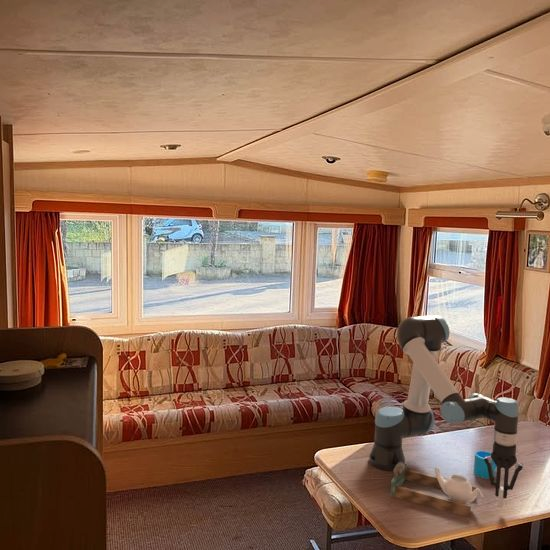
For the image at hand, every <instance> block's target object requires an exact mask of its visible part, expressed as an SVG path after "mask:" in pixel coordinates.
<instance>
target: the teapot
mask: <svg viewBox="0 0 550 550" xmlns="http://www.w3.org/2000/svg"><path fill="white" fill-rule="evenodd" d="M434 473H435V476H437V479H438V482H439V484H440V486H441V488H442V489H441V490H442V491H443V492H444V493H445V494H446V495H447V496H448V497H449V499H451V500H455V501H458V502H462V503H466V504H471V503H473V502H474V501H475V500H476V499H477V497H478V493H479V496H480V497H482V498H485V496H484V493H482V491H481V489H480V488H478V487H477V488H476V489H475V490H474V491H473V492H472V486H471V485H472V484H471V482H470V481H469V479H468V478H467V477H465V476H464V475H460V474H452V475H450V476H449V477H448V478H446V479H447V480H445V479H444V478H445V477H443V476H442V474H441V470H440V469H439V468H434Z"/></svg>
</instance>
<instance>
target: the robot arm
mask: <svg viewBox="0 0 550 550" xmlns="http://www.w3.org/2000/svg"><path fill="white" fill-rule="evenodd" d="M396 338H397V343H398V346H399V347H400V349H401V350H402V352H403V353H404V354H405V355H408V356H409V358H410V360H411V361H412V362H413V363H412V370H411V376H410V381H409V388H408V389H409V390H408V395H407V399H405V400H404V401H403V402H402V403H403V405H402V408H401V407H399V406H390V405H389V406H383V407H380V408H379V409H378V410H377V411H376V412H375V418H374V442H373V446H372V448H371V451H370V453H369V456H368V458H369V459H368V462H369V463H370V465H371V466H373V467H374V468H377V469H378V470H379V469H380V470H383V471H392V472H393V470H394V468H395V467H396V465H397V464H398V462H403V463H405V464H406V459H405V458H406V457H405V454H404V450H403V439H404V438H410V437H415V436H423V435H425V434H427V433H430V432H431V431H432V430H433V429H434V426H435V416H434V412H433V410H432V409H431V408H432V407H431V406H430V404H429V398H430V393H431V390H432V392H433V393H434V395H435V396H436V398H437V400H438V401H439V402H440V404H441V405H440V410H439V411H440V413H441V417H442V419H443V420H444V421H445V422H446V423H449V424H455V423H456V424H457V423H459V424H460V423H461V422H466V421H474V420H480V419H486V420H489V421H490V422H493V423H494V425H493V426H494V428H493V441H492V442H493V443H492V452H490V453H491V456H485V459H484V461H485V463H486V464H487V469H488V474H489V484H490V486H492V487H495V491H494V495H495V497H498V498H497V507H498V508H502V509H503V505H504V499H507V497H508V490H510V491H512V490H514V487H515V485H516V481H517V480H518V479H517V478H518V476H519V474H520V472H521V471H522V470H523V468H524V467H523V466H524V464H523V463H522V462H521V463H520V462H519V461H518V458H517V457H516V455H517V454H516V453H517V445H516V444H517V442H518V426H519V425H518V424H519V415H520V410H519V409H520V406H519V405H520V404H519V402H518V401H517V400H516V399H514V398H510V397H504V396H502V397H497V398H496V400H495V399H494V398H490V397H489V396H486V395H484V394H481V393H477V392H476V393H475V392H474V393H471V395H469V396H468V398H465V399H464V398H463V397H462V395H461V394H460V392H459V391H458V390H457V388H456V387H455V386H454V384H453V383H452V381H451V379H450V378H449V377H448V375H447V374H446V373H445V371H444V370H443V368H442V367H441V365H440V364H439V363H438V362H437V360H436V357H437V353H439V352H440V351H441V350H442V344H443V343H446V342H447V341H448V340H449V338H450V327H449V324H448V323H447V321H446V320H445V319H444V318H443V317H442V316H440V315H432V314H429V315H420V316H408V317H406V318H405V319H403V320H402V321H401V322H400V323H399V325H398V327H397V331H396ZM492 460H493V461H494V463H495V464H496V466H497V467H496V474H495V475H496V477H495V476H494V475H493V470H492V464H491V462H492ZM513 466H515V467H514V468H515V469H514V472H513V475H512V477H511V480H510V483H509V474H510V473H509V472H510V469H511V468H512V467H513ZM502 469H504V475H503V476H504V477H503V486H501V474H502Z"/></svg>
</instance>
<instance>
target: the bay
mask: <svg viewBox="0 0 550 550" xmlns="http://www.w3.org/2000/svg"><path fill="white" fill-rule="evenodd" d="M392 472H393V473H394V476H393V477H392V479H391V481H390V497H393V498H398V499H401V500H405V501H406V502H407V501H408V502H412V503H414V504H415V503H416V504H419V505H422V506H426V507H429V508H433V509H437V510H441V511H444V512H449V513H452V514H455V515H459V516H463V517H466V518H470V517H471V509H472V508H471V507H472V504H471V503H462V502H458V501H455V500H451V499H450V498H446V497H443V496H440V495H439V496H438V495H435V494H431V493H427V492H424V491H419V490H416V489H412V488H409V487H405V486H402V485H403V483H404V481H409V482H412V483H416V484H420V483H421V484H420V485H424V484H425V486H428V485H429V486H428V487H433V488H435V487H436V489H439V490H442V488H441V486H440V484H439V482H438V479H437V476H436V475H433V474H430V473H426V472H421V471H417V470H413V469H408V468H407V463H406V462H405V463H403V462H398V464H397V465H396V467H395V468H394V470H393V471H392ZM443 478H444V479H445V480H447V479H448V478H445V477H443ZM471 486H472V492H473V491H474V490H475V489H476V488H478V486H477V485H476V484H471Z"/></svg>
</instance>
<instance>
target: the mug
mask: <svg viewBox="0 0 550 550" xmlns="http://www.w3.org/2000/svg"><path fill="white" fill-rule="evenodd" d="M491 453H492V452H490V451H485V450H477V451H475V453H474V460H473V461H474V462H473V474H474V473H475V474H476V475H475V474H474V475H475V476H476V477H479V476H480V477H479V478H481V477H483V478H482V479H486V478H489V474H488V469H487V464H486V463H485V461H484V459H485V456H491ZM491 464H492V470H493V475H494V477H495V475H496V469H497V466H496V464H495V463H494V461H493V460H492V462H491Z"/></svg>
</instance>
